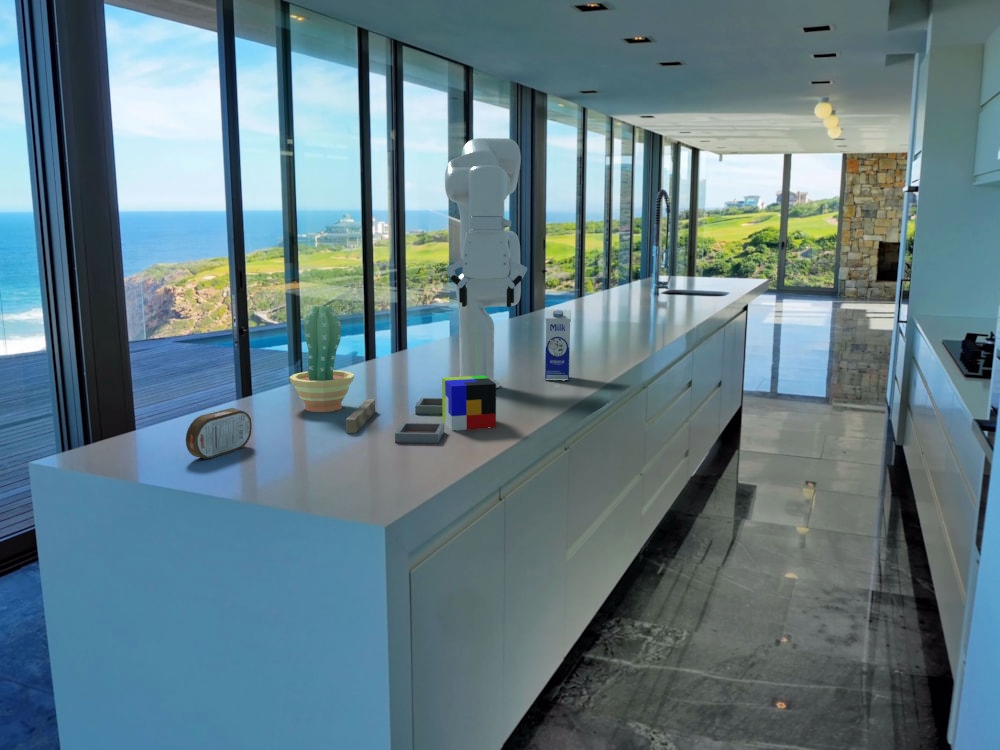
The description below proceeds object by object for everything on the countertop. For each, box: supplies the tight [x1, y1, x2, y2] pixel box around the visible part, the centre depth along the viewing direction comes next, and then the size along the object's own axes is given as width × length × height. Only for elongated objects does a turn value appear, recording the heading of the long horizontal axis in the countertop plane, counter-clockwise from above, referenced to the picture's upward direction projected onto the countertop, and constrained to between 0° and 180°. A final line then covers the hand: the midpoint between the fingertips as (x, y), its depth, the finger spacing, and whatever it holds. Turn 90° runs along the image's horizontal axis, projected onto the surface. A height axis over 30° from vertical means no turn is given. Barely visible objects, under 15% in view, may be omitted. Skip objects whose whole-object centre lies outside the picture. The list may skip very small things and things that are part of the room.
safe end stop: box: [345, 398, 376, 434], centre depth 185 cm, size 20×2×3 cm, turn 176°
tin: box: [185, 407, 253, 460], centre depth 160 cm, size 15×3×8 cm, turn 152°
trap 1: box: [394, 422, 445, 445], centre depth 172 cm, size 9×9×2 cm
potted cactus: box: [288, 304, 355, 413], centre depth 197 cm, size 15×15×25 cm
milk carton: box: [544, 308, 572, 380], centre depth 234 cm, size 7×7×20 cm
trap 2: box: [414, 397, 443, 416], centre depth 197 cm, size 9×9×2 cm
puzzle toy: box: [441, 376, 497, 432], centre depth 183 cm, size 10×10×10 cm
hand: (486, 306), depth 176 cm, fingers open, 9 cm apart
